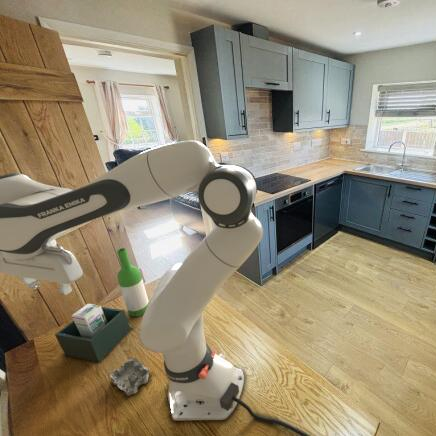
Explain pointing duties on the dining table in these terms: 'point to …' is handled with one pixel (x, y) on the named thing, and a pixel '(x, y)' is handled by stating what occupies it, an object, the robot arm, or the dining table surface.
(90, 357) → the waste bin
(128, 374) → the grey jagged rectangular tray
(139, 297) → the wine bottle
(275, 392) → the dining table surface
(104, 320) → the syrup box
